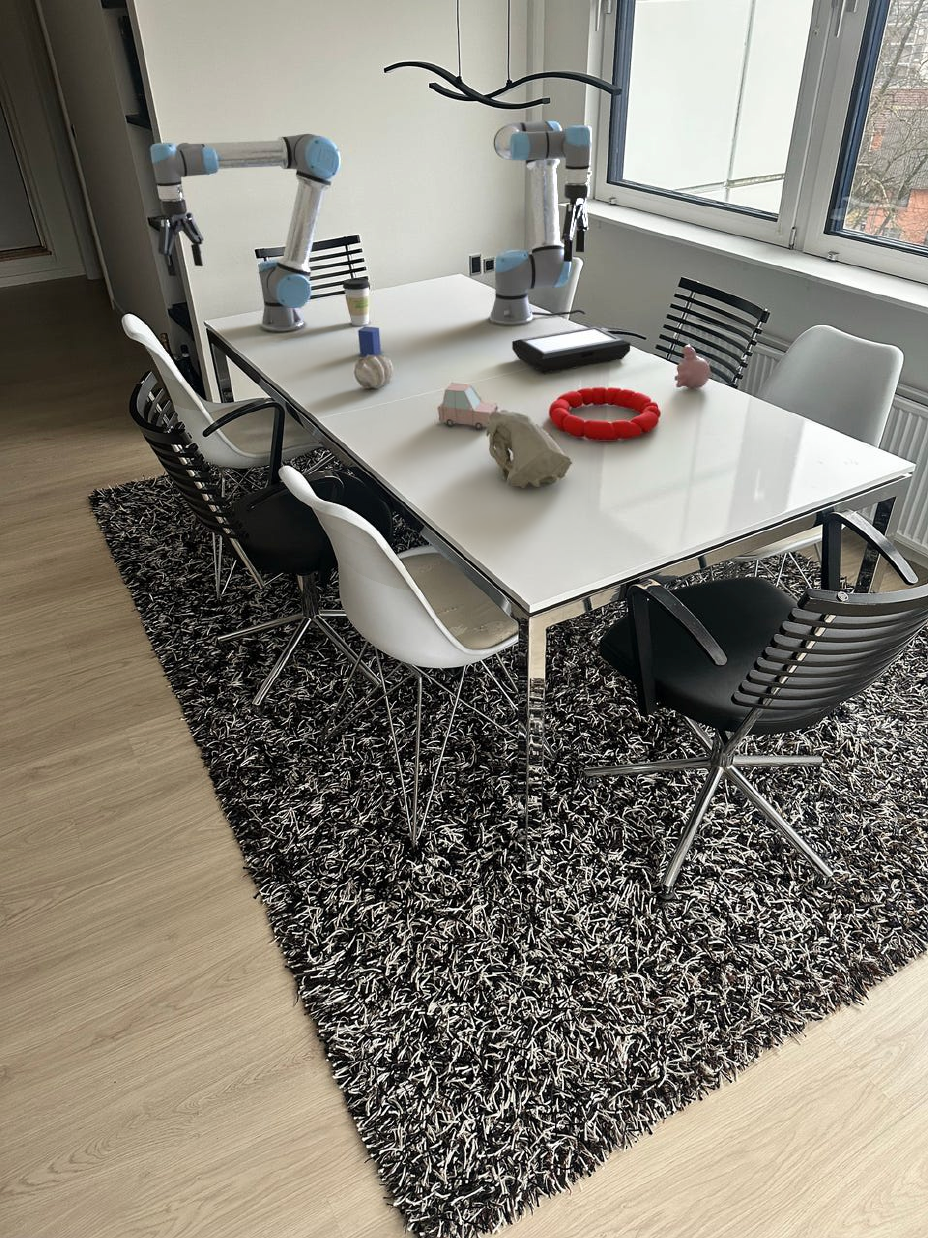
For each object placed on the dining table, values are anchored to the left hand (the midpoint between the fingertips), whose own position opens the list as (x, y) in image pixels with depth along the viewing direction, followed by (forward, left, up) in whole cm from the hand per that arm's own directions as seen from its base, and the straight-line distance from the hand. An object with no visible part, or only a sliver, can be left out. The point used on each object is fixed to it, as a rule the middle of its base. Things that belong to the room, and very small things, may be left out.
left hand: (186, 270), depth 289 cm
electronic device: (+40, +119, -27) cm, 128 cm away
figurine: (+75, +146, -27) cm, 166 cm away
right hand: (+25, +123, +1) cm, 126 cm away
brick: (+17, +56, -27) cm, 65 cm away
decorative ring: (+93, +113, -27) cm, 149 cm away
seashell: (+50, +55, -27) cm, 79 cm away
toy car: (+84, +77, -27) cm, 118 cm away
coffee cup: (-19, +56, -27) cm, 65 cm away
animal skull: (+117, +84, -27) cm, 147 cm away
